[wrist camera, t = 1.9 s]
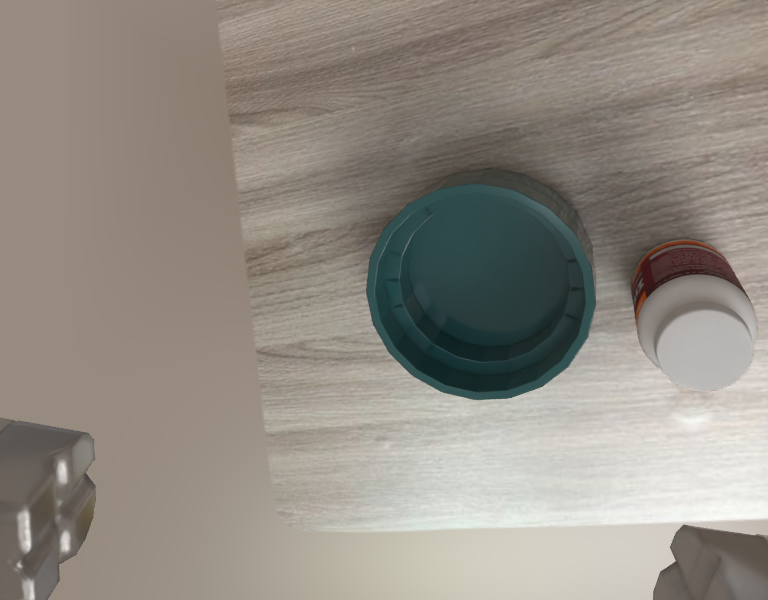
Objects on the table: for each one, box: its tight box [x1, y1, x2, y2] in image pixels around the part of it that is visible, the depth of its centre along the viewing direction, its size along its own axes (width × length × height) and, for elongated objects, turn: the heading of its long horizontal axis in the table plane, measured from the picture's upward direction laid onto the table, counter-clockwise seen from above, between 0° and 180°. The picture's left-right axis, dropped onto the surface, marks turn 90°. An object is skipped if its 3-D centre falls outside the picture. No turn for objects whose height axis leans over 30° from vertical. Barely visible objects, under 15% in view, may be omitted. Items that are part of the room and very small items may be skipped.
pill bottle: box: [631, 239, 758, 392], centre depth 41 cm, size 6×6×11 cm
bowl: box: [366, 168, 596, 400], centre depth 47 cm, size 14×14×6 cm
